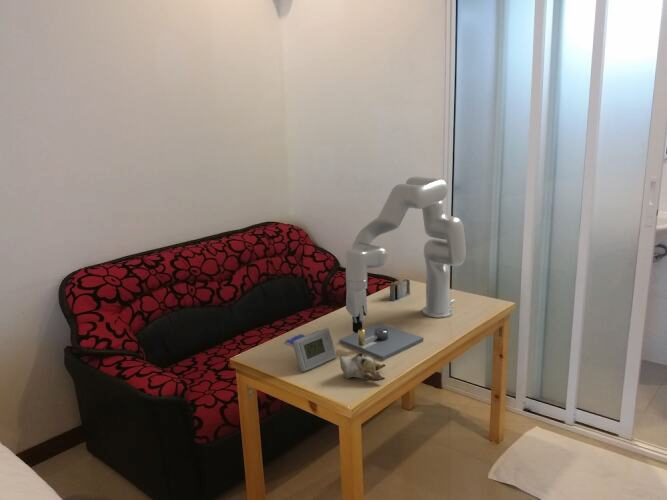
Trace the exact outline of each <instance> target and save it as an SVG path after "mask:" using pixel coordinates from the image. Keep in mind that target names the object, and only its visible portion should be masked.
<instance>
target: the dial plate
mask: <svg viewBox="0 0 667 500" xmlns="http://www.w3.org/2000/svg"><path fill="white" fill-rule="evenodd" d="M376 328H386V329H388V339H386V340H373V341H371V342H368V343H366V344H365V345H363V346H360V345H358V333H354V332H353V333H351V334H349V335H347V336H344V337H342V338H339V341H338V342H339V344H342V345H343V346H346V347H348V348H351V349H353V350H356V351H358V352H359V353H362V354H366V355H367V356H370V357H372V358H376V359H378V360H381V361H386V360H387V359H390V358H393V357H394V356H396V355H398V354H400V353H402V352H404V351H406V350H409V349H411V348H413V347H415V346H417V345H419V344H421V343H423V342H424V337H422V336H420V335H417V334H413V333H412V332H408V331H405V330H402V329H399V328H396V327H393V326H390V325H387V324H385V323H382V322H377V323H376V324H373V325H370V326H368V327H366V328H365V327H364V329H365V339H366V338H368V337H371V336H373V335H374V330H375V329H376Z"/></svg>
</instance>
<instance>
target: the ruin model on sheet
mask: <svg viewBox="0 0 667 500" xmlns="http://www.w3.org/2000/svg"><path fill="white" fill-rule="evenodd" d="M410 295H411V280H410V279H408V278H404V279H401V280H397V281H394V282H390V284H389V300H390V301H392V302H395V301H396V300H397V301H399V300H401V299H403V298H406V297H408V296H410Z"/></svg>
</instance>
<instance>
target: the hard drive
mask: <svg viewBox="0 0 667 500" xmlns="http://www.w3.org/2000/svg"><path fill="white" fill-rule="evenodd" d="M303 336H305V335H304V334H297V335H295V336H292V337H291V338H288V339H286V340H285V344H286V345H287V344H288V345H290V346H292V347H294V346H293V342H294V341H295V340H297V339H300V338H301V337H303Z"/></svg>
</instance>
